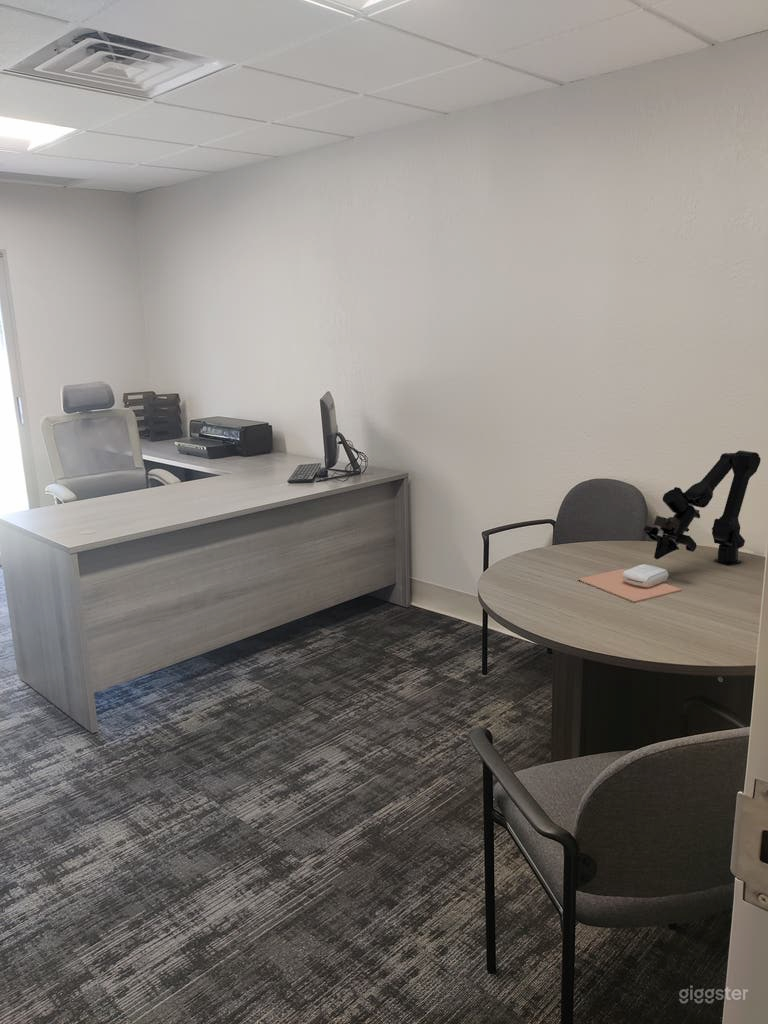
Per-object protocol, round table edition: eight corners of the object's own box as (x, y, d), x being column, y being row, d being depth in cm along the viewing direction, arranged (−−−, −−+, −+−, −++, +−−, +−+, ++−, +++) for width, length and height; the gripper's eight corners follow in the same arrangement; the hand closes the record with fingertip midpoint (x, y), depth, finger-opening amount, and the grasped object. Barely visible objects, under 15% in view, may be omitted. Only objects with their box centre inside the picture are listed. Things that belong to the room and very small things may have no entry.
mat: (623, 570, 266) (623, 568, 266) (681, 590, 244) (681, 589, 243) (577, 580, 258) (577, 578, 258) (634, 602, 235) (634, 601, 235)
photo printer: (641, 574, 259) (618, 583, 252) (641, 562, 258) (619, 570, 251) (668, 581, 251) (646, 590, 244) (669, 569, 250) (647, 577, 243)
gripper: (647, 501, 260) (622, 538, 258) (691, 512, 244) (664, 551, 242) (664, 520, 266) (639, 556, 264) (708, 532, 249) (682, 570, 247)
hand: (655, 558), depth 254 cm, fingers closed
